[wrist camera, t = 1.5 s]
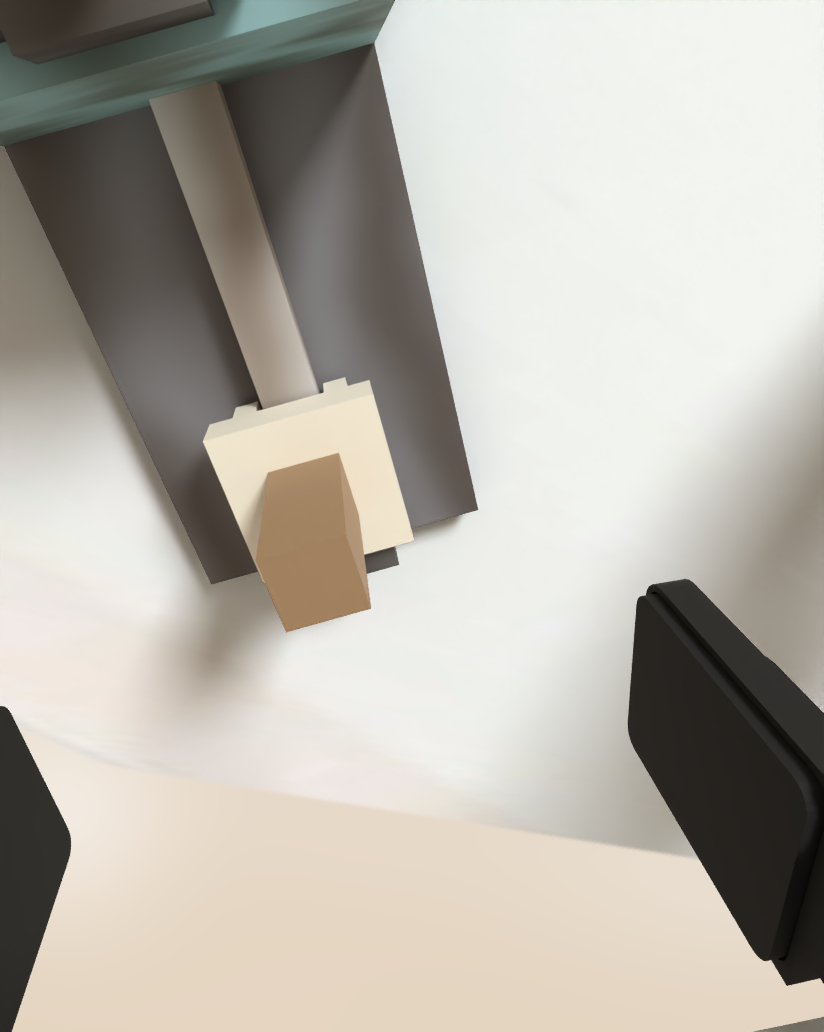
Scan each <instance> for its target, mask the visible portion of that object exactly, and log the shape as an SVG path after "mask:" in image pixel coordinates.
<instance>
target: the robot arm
mask: <svg viewBox="0 0 824 1032" xmlns="http://www.w3.org/2000/svg"><path fill="white" fill-rule="evenodd" d="M628 732H629V736H630V740H631V743H632V745H633V747H634V749H635V751H636V753H637V754H638V756H639V758H640V759H641V761H642V763H643V764H644V766H645V768H646V770H647V771H648V773H649V775H650V776H651V778H652V780H653V781H654V783H655V785H656V787H657V788H658V790H659V792H660V793H661V795H662V797H663V798H664V800H665V802H666V804H667V805H668V807H669V809H670V810H671V812H672V814H673V815H674V817H675V819H676V821H677V822H678V824H679V826H680V827H681V829H682V831H683V832H684V834H685V836H686V838H687V839H688V841H689V843H690V844H691V846H692V848H693V849H694V851H695V853H696V855H697V856H698V858H699V860H700V861H701V863H702V865H703V866H704V868H705V870H706V871H707V873H708V875H709V876H710V878H711V880H712V881H713V883H714V885H715V887H716V888H717V890H718V892H719V893H720V895H721V897H722V899H723V900H724V902H725V904H726V905H727V907H728V909H729V911H730V912H731V914H732V916H733V917H734V919H735V920H736V922H737V924H738V926H739V928H740V929H741V931H742V933H743V934H744V936H745V937H746V939H747V941H748V943H749V945H750V946H751V947H752V949H753V951H754V952H755V953H756V955H757V956H758V957H759V958H760V959H762V960H763V961H769V960H772V962H773V963H774V965H775V967H776V969H777V970H778V972H779V974H780V975H781V977H782V979H783V980H784V982H785V983H786V985H787V986H788V985H792V984H797V983H801V982H805V981H810V980H814V979H818V978H820V979H821V980H822V982H823V983H824V713H823V712H822V711H821V710H820V709H819V708H818V707H817V706H816V705H815V704H814V703H813V702H812V701H811V700H810V699H809V698H808V697H807V696H806V695H805V694H804V693H803V692H802V691H801V690H800V689H799V688H798V686H797V685H796V684H795V683H794V682H793V681H792V680H791V679H790V678H789V677H788V676H787V675H786V674H785V673H784V672H783V671H782V670H781V669H780V668H779V667H778V666H777V665H776V664H775V663H774V662H772V661H771V660H770V659H769V658H767V657H765V656H764V655H763V654H762V653H761V652H760V651H759V650H758V649H757V648H756V647H755V646H754V645H753V644H752V643H751V641H750V640H749V639H748V638H747V637H746V636H745V635H744V634H743V633H742V632H741V631H740V630H739V629H738V628H737V627H736V626H735V625H734V624H733V623H732V622H731V621H730V620H729V619H728V618H727V617H726V616H725V615H724V614H723V613H722V612H721V611H720V610H719V609H718V608H717V607H716V606H715V604H714V603H713V602H712V601H711V600H710V599H709V598H708V597H707V596H706V595H705V594H704V593H703V592H702V591H701V590H700V589H699V588H698V587H697V586H696V585H695V584H694V583H693V582H691V581H690V580H687V579H683V580H677V581H671V582H665V583H659V584H653V585H651V586H649V588H648V589H647V592H646V595H645V596H641V597H639V598H638V600H637V606H636V619H635V632H634V646H633V659H632V673H631V686H630V699H629V713H628ZM70 851H71V838H70V833H69V830H68V828H67V826H66V823H65V821H64V819H63V818H62V815H61V813H60V811H59V809H58V807H57V805H56V804H55V801H54V799H53V797H52V795H51V793H50V791H49V789H48V787H47V785H46V783H45V781H44V779H43V778H42V775H41V773H40V771H39V769H38V767H37V765H36V763H35V761H34V759H33V757H32V755H31V753H30V751H29V749H28V747H27V745H26V743H25V741H24V739H23V737H22V735H21V733H20V731H19V729H18V727H17V725H16V723H15V721H14V719H13V717H12V715H11V713H10V711H9V710H8V709H7V708H6V707H4V706H0V1032H12V1029H13V1026H14V1023H15V1020H16V1017H17V1014H18V1011H19V1008H20V1005H21V1002H22V999H23V996H24V993H25V990H26V987H27V983H28V980H29V978H30V975H31V972H32V968H33V966H34V963H35V959H36V957H37V954H38V950H39V947H40V945H41V942H42V939H43V935H44V932H45V929H46V926H47V923H48V920H49V917H50V914H51V911H52V908H53V905H54V902H55V899H56V896H57V893H58V890H59V887H60V884H61V881H62V878H63V875H64V872H65V869H66V866H67V863H68V860H69V856H70ZM755 1032H824V1017H821V1018H817V1019H812V1020H807V1021H803V1022H798V1023H793V1024H789V1025H783V1026H779V1027H774V1028H769V1029H764V1030H759V1031H755Z"/></svg>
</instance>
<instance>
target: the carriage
mask: <svg viewBox="0 0 824 1032" xmlns="http://www.w3.org/2000/svg"><path fill="white" fill-rule="evenodd" d="M323 388H324V393H321V394H317V395H314V396H310V397H306V398H303V399H299V400H296V401H292V402H288V403H285V404H281V405H278V406H274V407H271V408H267V409H263V410H261V409H260V406H259V404H258V402H254V403H251V404H247V405H244V406H240V407H236V409H235V412H234V415H233V418H231V419H228V420H224V421H220V422H217V423H213V424H210V425H209V427H208V430H207V432H206V435H205V437H204V440H203V443H204V446H205V448H206V450H207V453H208V455H209V457H210V460H211V462H212V464H213V467H214V469H215V471H216V474H217V476H218V478H219V481H220V483H221V485H222V488H223V490H224V492H225V495H226V497H227V499H228V502H229V504H230V506H231V509H232V511H233V513H234V516H235V518H236V521H237V523H238V525H239V528H240V530H241V532H242V535H243V537H244V539H245V542H246V544H247V546H248V549H249V551H250V553H251V556H252V558H253V560H254V563H255V565H256V567H257V570H258V572H259V574H260V577H261V579H262V581H263V583H265V584H266V586H267V588H268V591H269V593H270V595H271V598H272V600H273V603H274V605H275V607H276V610H277V612H278V614H279V617H280V619H281V621H282V624H283V626H284V628H285V631H286V632H289V631H292V630H296V629H300V628H303V627H307V626H310V625H314V624H317V623H321V622H325V621H328V620H332V619H335V618H339V617H342V616H346V615H350V614H353V613H357V612H360V611H364V610H368V609H371V604H370V596H369V588H368V581H367V573H366V565H365V558H364V555H365V554H368V553H372V552H376V551H379V550H383V549H386V548H390V547H394V546H397V545H401V544H404V543H408V542H411V541H414V537H413V534H412V530H411V526H410V522H409V519H408V515H407V512H406V508H405V505H404V501H403V497H402V494H401V490H400V487H399V483H398V480H397V476H396V473H395V469H394V466H393V462H392V459H391V455H390V451H389V448H388V444H387V441H386V437H385V434H384V430H383V427H382V423H381V420H380V416H379V413H378V409H377V405H376V402H375V398H374V395H373V391H372V388H371V384H370V381H369V380H367V381H364V382H360V383H357V384H353V385H349V386H348V385H347V382H346V378H345V377H344V378H340V379H337V380H333V381H330V382H326V383H323Z"/></svg>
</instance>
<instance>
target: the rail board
mask: <svg viewBox="0 0 824 1032" xmlns="http://www.w3.org/2000/svg"><path fill="white" fill-rule="evenodd" d="M394 1H395V0H0V146H5V149H6V151H7V153H8V155H9V157H10V159H11V161H12V163H13V165H14V168H15V170H16V172H17V174H18V176H19V178H20V180H21V182H22V185H23V187H24V189H25V191H26V193H27V195H28V197H29V199H30V201H31V204H32V206H33V208H34V210H35V212H36V214H37V216H38V218H39V220H40V223H41V225H42V227H43V229H44V231H45V233H46V235H47V237H48V240H49V242H50V244H51V246H52V248H53V250H54V252H55V254H56V256H57V259H58V261H59V263H60V265H61V267H62V269H63V271H64V273H65V275H66V278H67V280H68V282H69V284H70V286H71V288H72V290H73V292H74V294H75V297H76V299H77V301H78V303H79V305H80V307H81V309H82V311H83V314H84V316H85V318H86V320H87V322H88V324H89V326H90V328H91V330H92V333H93V335H94V337H95V339H96V341H97V343H98V345H99V347H100V349H101V352H102V354H103V356H104V358H105V360H106V362H107V364H108V366H109V369H110V371H111V373H112V375H113V377H114V379H115V381H116V383H117V385H118V388H119V390H120V392H121V394H122V396H123V398H124V400H125V402H126V404H127V407H128V409H129V411H130V413H131V415H132V417H133V419H134V421H135V423H136V426H137V428H138V430H139V432H140V434H141V436H142V438H143V440H144V443H145V445H146V447H147V449H148V451H149V453H150V455H151V457H152V459H153V462H154V464H155V466H156V468H157V470H158V472H159V474H160V476H161V478H162V481H163V483H164V485H165V487H166V489H167V491H168V493H169V495H170V498H171V500H172V502H173V504H174V506H175V508H176V510H177V512H178V514H179V517H180V519H181V521H182V523H183V525H184V527H185V529H186V531H187V533H188V536H189V538H190V540H191V542H192V544H193V546H194V548H195V550H196V552H197V555H198V557H199V559H200V561H201V563H202V565H203V567H204V569H205V572H206V574H207V576H208V578H209V580H210V582H211V584H215V583H218V582H222V581H225V580H229V579H233V578H236V577H240V576H243V575H247V574H250V573H254V572H258V570H257V567H256V565H255V563H254V560H253V558H252V556H251V553H250V551H249V549H248V546H247V544H246V542H245V539H244V537H243V535H242V532H241V530H240V528H239V525H238V523H237V521H236V518H235V516H234V513H233V511H232V509H231V506H230V504H229V502H228V499H227V497H226V495H225V492H224V490H223V488H222V485H221V483H220V481H219V478H218V476H217V474H216V471H215V469H214V467H213V464H212V462H211V460H210V457H209V455H208V453H207V450H206V448H205V446H204V443H203V440H204V437H205V435H206V432H207V430H208V427H209V425H210V424H213V423H217V422H220V421H224V420H228V419H231V418H233V415H234V412H235V409H236V407H240V406H244V405H247V404H251V403H254V402H258V404H259V406H260V409H261V410H263V409H267V408H271V407H274V406H278V405H281V404H285V403H288V402H292V401H296V400H299V399H303V398H306V397H310V396H314V395H317V394H321V393H324V388H323V383H326V382H330V381H333V380H337V379H340V378H344V377H345V378H346V382H347V385H348V386H349V385H353V384H357V383H360V382H364V381H367V380H369V381H370V384H371V388H372V391H373V395H374V398H375V402H376V405H377V409H378V413H379V416H380V420H381V423H382V427H383V430H384V434H385V437H386V441H387V444H388V448H389V451H390V455H391V459H392V462H393V466H394V469H395V473H396V476H397V480H398V483H399V487H400V490H401V494H402V497H403V501H404V505H405V508H406V512H407V515H408V519H409V522H410V526H411V528H415V527H419V526H422V525H426V524H429V523H433V522H436V521H440V520H444V519H447V518H451V517H454V516H458V515H462V514H465V513H469V512H472V511H476V510H478V507H477V503H476V498H475V494H474V489H473V485H472V480H471V476H470V471H469V467H468V462H467V458H466V453H465V449H464V444H463V440H462V435H461V431H460V426H459V422H458V417H457V413H456V408H455V404H454V399H453V395H452V390H451V386H450V382H449V377H448V373H447V368H446V364H445V359H444V355H443V350H442V346H441V341H440V337H439V332H438V328H437V323H436V319H435V314H434V310H433V305H432V301H431V296H430V292H429V287H428V283H427V278H426V274H425V269H424V265H423V260H422V256H421V251H420V247H419V242H418V238H417V233H416V229H415V224H414V220H413V215H412V211H411V206H410V202H409V197H408V193H407V188H406V184H405V180H404V175H403V171H402V166H401V162H400V157H399V153H398V148H397V144H396V139H395V135H394V130H393V126H392V121H391V117H390V112H389V108H388V103H387V99H386V94H385V90H384V85H383V81H382V76H381V72H380V67H379V63H378V58H377V54H376V49H375V45H374V42H375V40H376V38H377V36H378V34H379V32H380V30H381V28H382V26H383V24H384V22H385V20H386V18H387V16H388V14H389V12H390V10H391V7H392V5H393V3H394ZM364 558H365V565H366V573H367V574H368V573H371V572H375V571H378V570H382V569H386V568H389V567H393V566H396V565H399V562H398V557H397V553H396V548H395V546H394V547H390V548H386V549H383V550H379V551H376V552H372V553H368V554H365V555H364Z"/></svg>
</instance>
